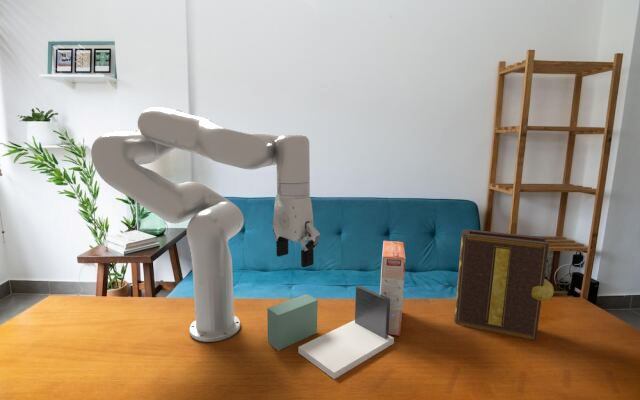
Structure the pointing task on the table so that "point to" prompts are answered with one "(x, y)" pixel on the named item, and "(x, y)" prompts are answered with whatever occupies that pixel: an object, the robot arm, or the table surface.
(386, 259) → the cracker box
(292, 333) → the book block
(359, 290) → the bookend
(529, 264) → the book
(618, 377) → the table surface
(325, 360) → the shelf board
